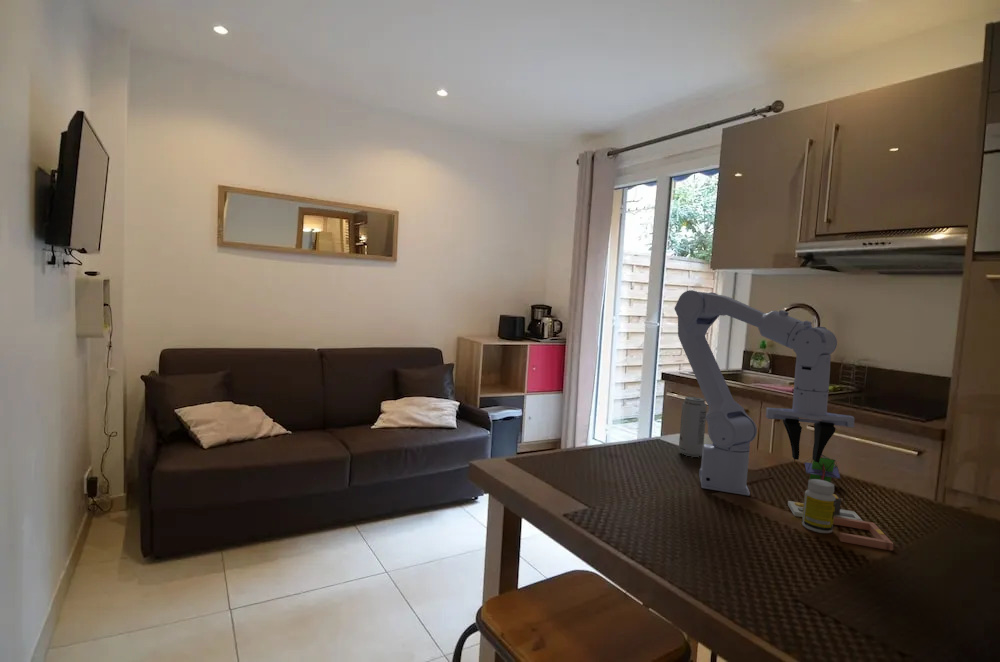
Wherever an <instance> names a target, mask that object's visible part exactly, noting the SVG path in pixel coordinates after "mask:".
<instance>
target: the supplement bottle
mask: <svg viewBox="0 0 1000 662" xmlns="http://www.w3.org/2000/svg"><path fill="white" fill-rule="evenodd" d="M833 494H835V484H834V483H833V482H831V483H830V482H828V481H824V480H819V479H810V478H809V479H808V481H807V489H806V490H805V492H804V497H803V503H804V507H803V517H801V518H802V519H801V524H802V526H803V527H804V528H805V529H807V530H809V531H812V532H816V533H819V534H830V533H833V530H834V524H833V521H834V511H835V502H836V498H835V496H834V495H833Z"/></svg>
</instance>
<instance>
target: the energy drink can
mask: <svg viewBox="0 0 1000 662" xmlns="http://www.w3.org/2000/svg"><path fill="white" fill-rule="evenodd" d="M707 407H708V405H707V403H706V400H705V398H702V397H694V396H686V397H685V398H684V400H683V402H682V406H681V415H680V416H681V417H680V418H681V419H680V428H679V429H680V430H679V439H678V441H679V442H678V451H679V452H680V453H682V454H684V455H687V456H693V457H698V456H700V457H701V456H702V449H703V444H705V443H704V442H705V432H706V431H705V430H706V423H707V420H706V414H707V411H708V408H707ZM687 456H686V457H687ZM693 457H692V458H693ZM698 458H699V457H698Z"/></svg>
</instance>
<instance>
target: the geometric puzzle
mask: <svg viewBox="0 0 1000 662" xmlns="http://www.w3.org/2000/svg"><path fill="white" fill-rule="evenodd" d="M836 463H837V461H836V459H833V458H831V457H828V456H827V455H824V454H823V453H822V454H821V457H820V461H819V462H815V461H814V460H813V456H812V457H811V461H810V462H808V461H807V460H806V461H804V468H805V474H806V476H807V478H809V480H810V479H819V480H824V481H828V482H830V483H832V482H833V479H837V480H835V482H837V481H839V480H841V479H842V478H841V475H840V472H839V471H840V470H839V467H838V465H837V464H836ZM809 474H810V475H809Z"/></svg>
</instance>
